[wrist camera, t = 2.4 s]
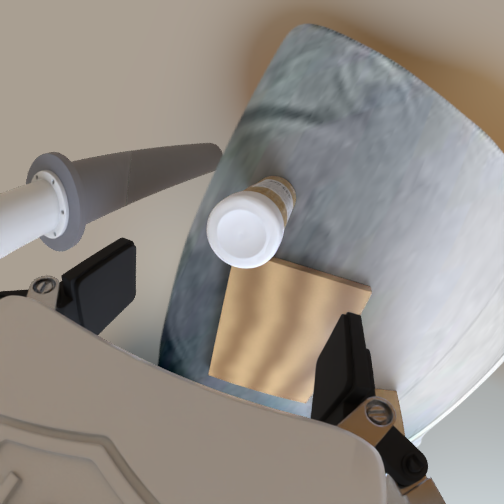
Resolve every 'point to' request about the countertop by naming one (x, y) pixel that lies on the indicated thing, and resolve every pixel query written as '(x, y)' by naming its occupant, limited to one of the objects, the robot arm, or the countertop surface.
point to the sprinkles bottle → (251, 222)
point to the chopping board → (280, 326)
